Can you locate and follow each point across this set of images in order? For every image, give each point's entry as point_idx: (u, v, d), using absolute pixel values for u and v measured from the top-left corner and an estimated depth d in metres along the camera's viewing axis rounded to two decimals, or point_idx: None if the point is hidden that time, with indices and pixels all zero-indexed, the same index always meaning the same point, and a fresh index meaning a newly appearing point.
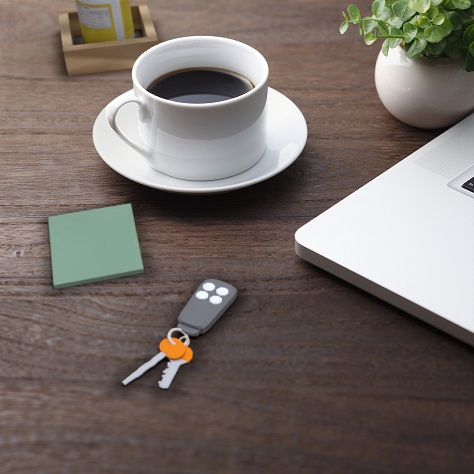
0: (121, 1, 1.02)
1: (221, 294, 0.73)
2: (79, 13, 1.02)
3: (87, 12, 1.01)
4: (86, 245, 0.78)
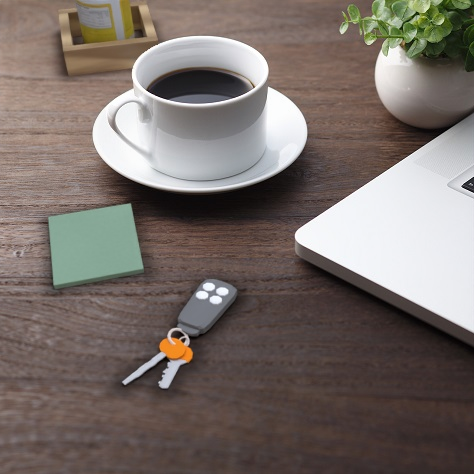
0: (121, 1, 1.02)
1: (221, 294, 0.73)
2: (79, 13, 1.02)
3: (87, 12, 1.01)
4: (86, 245, 0.78)
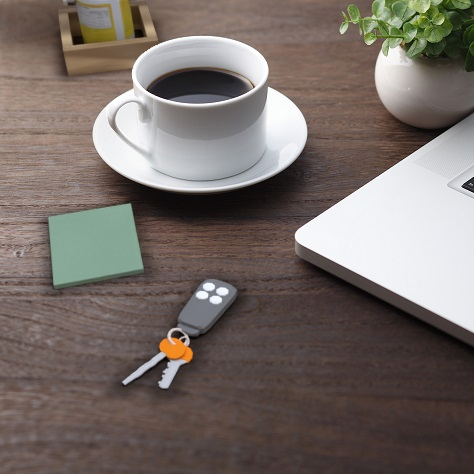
0: (121, 1, 1.02)
1: (222, 294, 0.73)
2: (78, 13, 1.02)
3: (87, 12, 1.01)
4: (86, 245, 0.78)
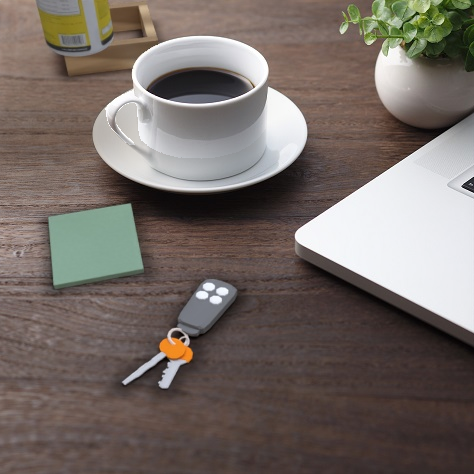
0: None
1: (221, 294, 0.73)
2: None
3: None
4: (86, 245, 0.78)
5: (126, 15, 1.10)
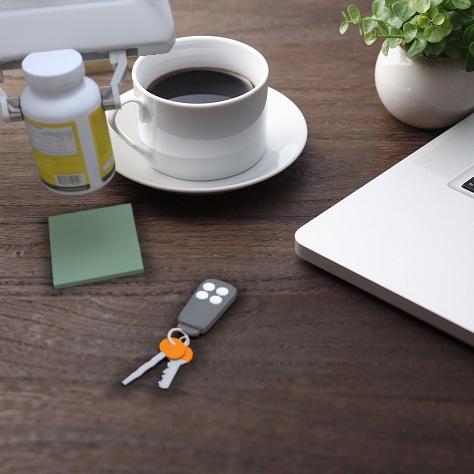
0: (92, 116, 0.67)
1: (221, 294, 0.73)
2: (28, 133, 0.68)
3: (40, 133, 0.67)
4: (86, 245, 0.78)
5: None
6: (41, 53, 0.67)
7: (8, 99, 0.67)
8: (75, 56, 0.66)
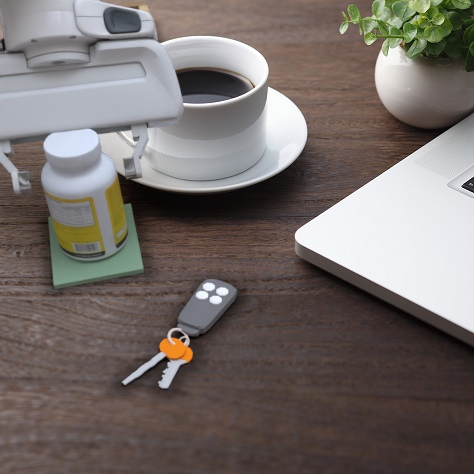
0: (108, 191, 0.73)
1: (221, 294, 0.73)
2: (48, 205, 0.73)
3: (60, 207, 0.72)
4: None
5: None
6: (61, 133, 0.72)
7: (19, 174, 0.71)
8: (92, 136, 0.72)
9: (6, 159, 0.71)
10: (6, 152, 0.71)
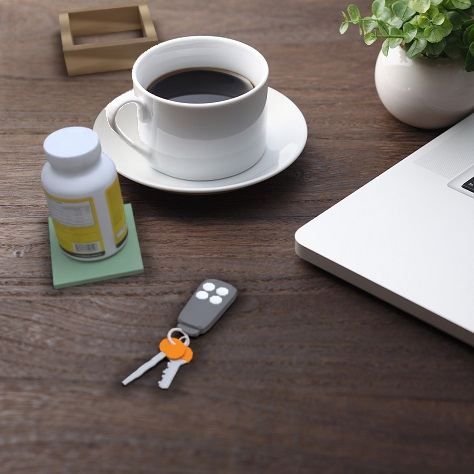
0: (108, 191, 0.73)
1: (221, 294, 0.73)
2: (48, 205, 0.73)
3: (60, 207, 0.72)
4: None
5: (126, 15, 1.10)
6: (61, 133, 0.72)
7: None
8: (92, 136, 0.72)
9: None
10: None
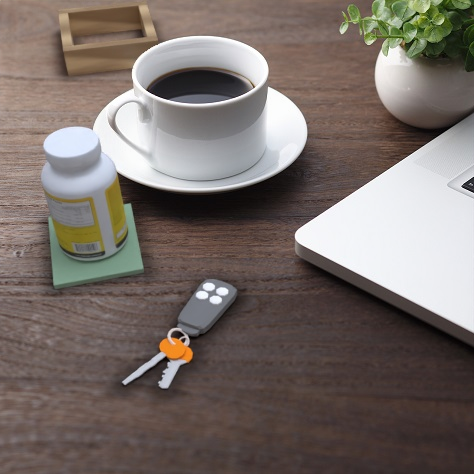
0: (108, 191, 0.73)
1: (221, 294, 0.73)
2: (48, 205, 0.73)
3: (60, 207, 0.72)
4: None
5: (126, 15, 1.10)
6: (61, 133, 0.72)
7: None
8: (92, 136, 0.72)
9: None
10: None
